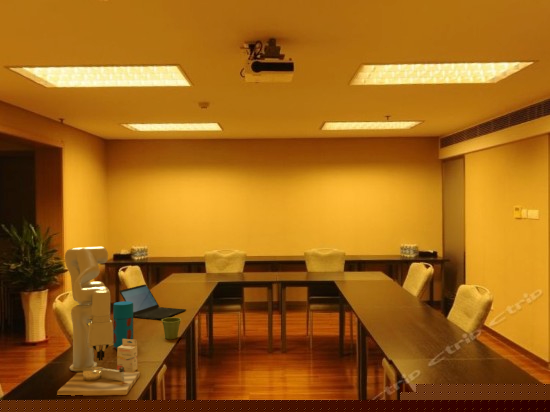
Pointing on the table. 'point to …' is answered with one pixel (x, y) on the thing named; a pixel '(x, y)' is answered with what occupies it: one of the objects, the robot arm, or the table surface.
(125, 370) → the ink cartridge box
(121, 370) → the small saucepan
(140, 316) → the laptop
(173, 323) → the plant pot
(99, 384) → the base plate
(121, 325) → the thermos
